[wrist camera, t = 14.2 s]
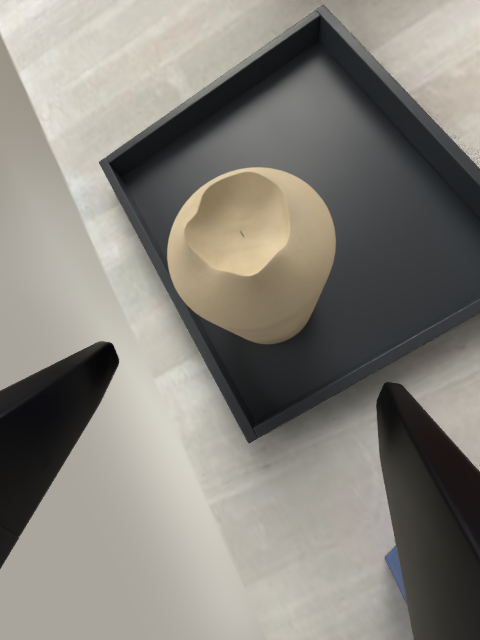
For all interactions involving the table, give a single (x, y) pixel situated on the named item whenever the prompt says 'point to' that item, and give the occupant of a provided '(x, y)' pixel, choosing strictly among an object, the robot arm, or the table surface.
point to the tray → (341, 200)
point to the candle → (253, 253)
